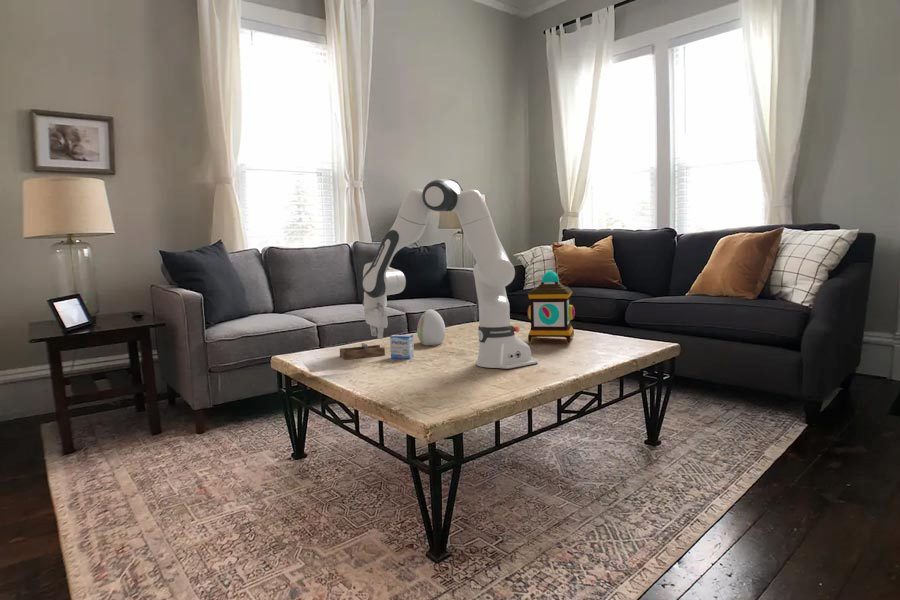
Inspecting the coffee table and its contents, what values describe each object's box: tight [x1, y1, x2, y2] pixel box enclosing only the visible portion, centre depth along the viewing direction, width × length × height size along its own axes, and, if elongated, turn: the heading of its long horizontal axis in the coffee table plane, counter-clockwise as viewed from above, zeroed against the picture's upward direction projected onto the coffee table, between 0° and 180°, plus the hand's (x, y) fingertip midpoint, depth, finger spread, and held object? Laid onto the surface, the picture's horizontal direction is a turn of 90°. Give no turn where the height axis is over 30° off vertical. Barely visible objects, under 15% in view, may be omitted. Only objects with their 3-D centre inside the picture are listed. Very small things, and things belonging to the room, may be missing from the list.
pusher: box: [361, 342, 368, 349], centre depth 214 cm, size 1×5×4 cm, turn 23°
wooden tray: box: [339, 344, 386, 360], centre depth 214 cm, size 16×8×3 cm, turn 113°
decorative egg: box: [416, 309, 447, 346], centre depth 235 cm, size 12×12×15 cm
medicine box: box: [389, 334, 415, 360], centre depth 206 cm, size 8×4×9 cm, turn 73°
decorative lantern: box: [527, 270, 576, 345], centre depth 233 cm, size 20×20×30 cm
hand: (377, 337), depth 216 cm, fingers open, 8 cm apart
